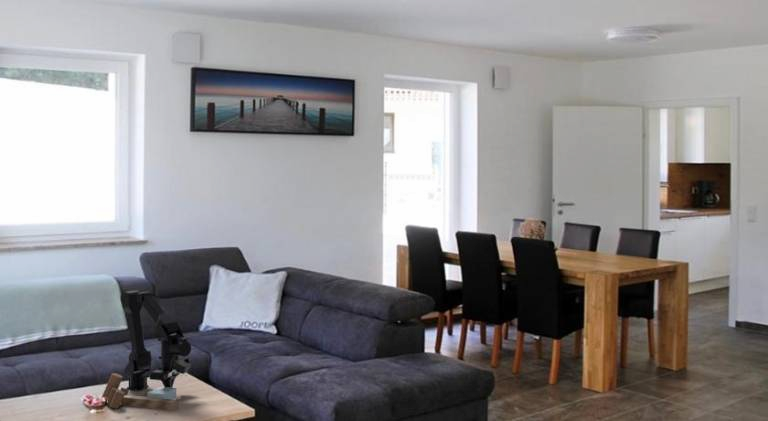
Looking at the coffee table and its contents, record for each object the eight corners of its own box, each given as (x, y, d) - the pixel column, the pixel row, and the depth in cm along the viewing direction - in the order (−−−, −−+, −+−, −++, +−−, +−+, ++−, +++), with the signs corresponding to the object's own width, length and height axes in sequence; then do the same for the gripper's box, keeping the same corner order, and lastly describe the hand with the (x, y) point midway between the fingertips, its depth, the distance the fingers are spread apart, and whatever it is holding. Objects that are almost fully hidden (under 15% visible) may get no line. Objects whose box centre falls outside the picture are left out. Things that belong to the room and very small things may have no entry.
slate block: (147, 404, 301) (147, 392, 301) (160, 398, 310) (160, 386, 310) (163, 406, 299) (163, 394, 299) (176, 399, 308) (176, 388, 308)
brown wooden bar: (120, 405, 299) (120, 397, 299) (125, 402, 302) (125, 395, 302) (172, 410, 293) (172, 402, 292) (176, 407, 295) (176, 399, 295)
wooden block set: (120, 415, 295) (131, 389, 295) (97, 407, 292) (109, 381, 293) (124, 399, 312) (135, 375, 312) (103, 392, 310) (113, 368, 310)
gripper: (174, 359, 299) (174, 400, 299) (199, 349, 316) (199, 387, 317) (148, 357, 302) (148, 398, 302) (174, 347, 320) (175, 385, 320)
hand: (169, 392), depth 310 cm, fingers closed
